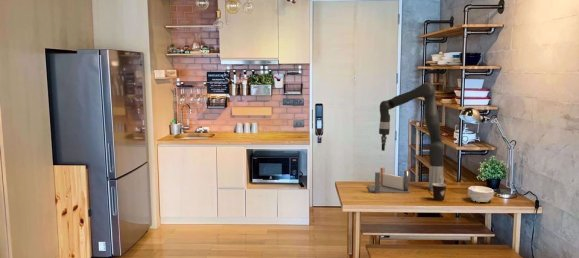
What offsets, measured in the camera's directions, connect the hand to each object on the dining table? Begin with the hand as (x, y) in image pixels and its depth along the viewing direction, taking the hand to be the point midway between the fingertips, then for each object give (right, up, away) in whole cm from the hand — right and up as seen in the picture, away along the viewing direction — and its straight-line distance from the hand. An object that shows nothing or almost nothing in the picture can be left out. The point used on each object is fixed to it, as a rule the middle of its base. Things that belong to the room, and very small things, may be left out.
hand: (383, 149), depth 337 cm
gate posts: (+1, -28, -24) cm, 37 cm away
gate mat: (0, -27, -16) cm, 32 cm away
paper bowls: (+53, -31, -44) cm, 76 cm away
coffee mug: (+26, -31, -42) cm, 58 cm away
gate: (+3, -26, -14) cm, 30 cm away
